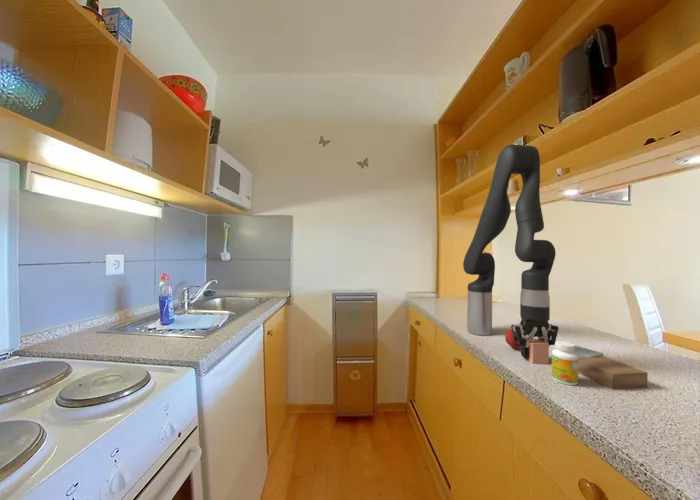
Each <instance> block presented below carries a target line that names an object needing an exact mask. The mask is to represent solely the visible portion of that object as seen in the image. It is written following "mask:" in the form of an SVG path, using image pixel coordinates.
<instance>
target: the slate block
mask: <svg viewBox="0 0 700 500" xmlns="http://www.w3.org/2000/svg"><path fill="white" fill-rule="evenodd" d="M573 352H574V353H576V354H577V356H578V358H585V357H605V356H604V353H603V352H600V351H597V350H592V349H589V348H585V347H583V346H580V345H575V351H573Z"/></svg>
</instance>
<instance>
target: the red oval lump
mask: <svg viewBox="0 0 700 500" xmlns="http://www.w3.org/2000/svg"><path fill="white" fill-rule="evenodd" d="M522 332H523V331H522ZM522 332H521V334H522ZM504 337H505V339H504V341H505V342H506V343H507V345H509V346H510V347H511V349H513V350H518V349H521V345H519V344H517V343H515V341H514V337H513V333H512V328H511V329H509V330H507V331H506V333H505V336H504Z"/></svg>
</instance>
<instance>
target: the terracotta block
mask: <svg viewBox="0 0 700 500" xmlns="http://www.w3.org/2000/svg"><path fill="white" fill-rule="evenodd" d="M525 341H526V340H525ZM549 350H550V346H549V344H548V343H546V342H543V341H542V340H538V338H537V337H534V338H533V340H532V341H531V342H530V345H529V359H525V358H523V356H522V355H520V358H522V359H524V360H526V361H527V362H529V363H531V364H533V365H534V364H535V365H536V364H539V365H540V364H545V365H546V364H549V363H550V362H549V361H550V359H549V357H550V354H549V352H550V351H549Z"/></svg>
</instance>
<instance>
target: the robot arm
mask: <svg viewBox="0 0 700 500" xmlns="http://www.w3.org/2000/svg"><path fill="white" fill-rule="evenodd" d="M493 171H494V172H493V175H492V180H491V183H490V184H491V185H490V188H489V190H488V191H489V192H488V194H487V197H486V200H485V203H484V206H483V209H482V211H481V215H480V218H479V221H478V224H477V226H476V229H475V233H474V235H473V238H472V240H471V242H470V245H469V246H468V248H467V250H466V253H465V255H464V258H463V263H462V268H463V271H464V272H465V274H467V275H472V276H478V277H477V279H475V280H474V281H471V282H469V283H468V284H467V308H466V330H467V332H468V333H470V334H473V335H476V336H477V335H478V336H491V335H492V334H493V287H494V285H495V271H496V262H495V261H496V260H495V258H494V256H493V255H492V254H491V253H490V252H484V250H485V249H486V248H487V246H488V245H489V244H490V243H491V242H492V241H494V240H495V239H496V238H497V237H499V235H501V233H502V232H503V231H504V229H505V228H506V226H507V224H508V221H509V218H510V215H511V213H512V208H511V203H510V199H509V195H508V186H509V182H510V179H511V177H512V175H520V177H521V180H522V188H521V191H520V192H519V196H518V198H517V201H516V203H515V205H514V206H515V207H514V208H515V209H514V213H515V214H514V215H515V221H516V226H517V230H516V231H517V232H516V238H515V244H514V252H515V256H516V257H517V259H518V260H520V261H521V262H524V263H532V266H531V268H529V269H526V270H523V271H522V272H521V278H520V279H521V283H520V284H521V287H520V288H521V289H520V290H521V291H520V297H519V298H520V299H519V300H520V304H519V306H520V308H519V314H520V319H521V320H520V323H519V324H513V323H512V324H511V326H510V327H511V329H512V333H513V337H514V341H515V343H517V344H519V345H521V347H520V354H521V355H522V356H523V358H522V359H524V358H525V359H529V345H530V342H531V341H532V340H533V338H537V339H538V340H542V341H543V342H546V343H548V344H549V347H550V346H555V342H556V341H557V336H558V332H559V326H557V325H555V324H551V323H549V321H550V319H551V317H550V315H551V314H550V313H551V312H550V311H551V310H550V309H551V305H550V304H551V300H550V298H551V297H550V291H549V289H550V284H549V283H550V274H551V271H552V268H553V266H554V263H555V259H556V252H557V251H556V248H555V245H554V244H553V243H552V242H551V241H550V240H546V239H535V234H537V233H541V232H542V231H543V230H544V229H545V224H544V223H545V222H544V216H543V211H542V207H541V199H540V197H541V196H540V194H541V193H540V190H541V189H540V187H541V186H540V185H541V184H540V183H541V157H540V153H539V150H538V148H537V147H536V146H533V145H524V144H507V145H505V146H504V147H503V148H502V149H501V151H500V152H499V155H498V156H497V160H496V164H495V168H494V170H493ZM521 332H522V334H521ZM525 340H526V341H525ZM521 355H520V356H521ZM525 359H524V360H525Z"/></svg>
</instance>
